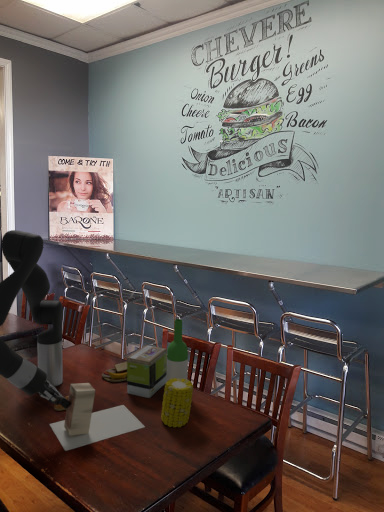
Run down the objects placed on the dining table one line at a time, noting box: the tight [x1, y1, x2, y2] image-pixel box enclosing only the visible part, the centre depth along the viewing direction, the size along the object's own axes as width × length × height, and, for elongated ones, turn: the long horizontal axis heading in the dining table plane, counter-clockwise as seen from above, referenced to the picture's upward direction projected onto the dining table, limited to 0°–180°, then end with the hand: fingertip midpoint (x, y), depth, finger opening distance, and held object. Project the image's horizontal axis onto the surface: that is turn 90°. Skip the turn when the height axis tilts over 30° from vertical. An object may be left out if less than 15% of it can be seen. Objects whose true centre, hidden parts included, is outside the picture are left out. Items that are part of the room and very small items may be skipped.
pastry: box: [53, 395, 69, 412], centre depth 153 cm, size 9×7×4 cm
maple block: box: [64, 382, 96, 436], centre depth 136 cm, size 6×6×14 cm
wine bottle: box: [166, 318, 189, 382], centre depth 161 cm, size 8×8×30 cm
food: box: [160, 378, 194, 428], centre depth 144 cm, size 15×12×10 cm
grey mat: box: [49, 404, 146, 452], centre depth 141 cm, size 17×26×1 cm, turn 123°
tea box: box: [126, 344, 168, 399], centre depth 168 cm, size 15×10×15 cm, turn 157°
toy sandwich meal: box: [101, 361, 127, 383], centre depth 179 cm, size 12×14×5 cm
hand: (68, 405), depth 134 cm, fingers closed
